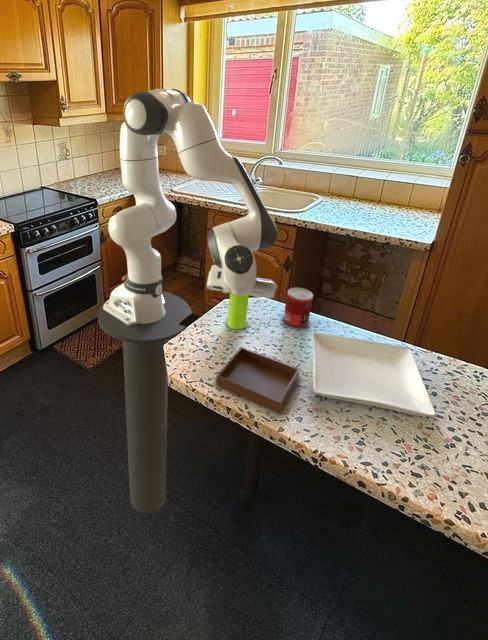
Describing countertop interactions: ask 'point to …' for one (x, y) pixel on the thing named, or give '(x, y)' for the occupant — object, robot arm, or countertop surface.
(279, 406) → the tray
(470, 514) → the countertop surface
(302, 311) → the canned food
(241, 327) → the soap dispenser
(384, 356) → the square plate
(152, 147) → the robot arm
